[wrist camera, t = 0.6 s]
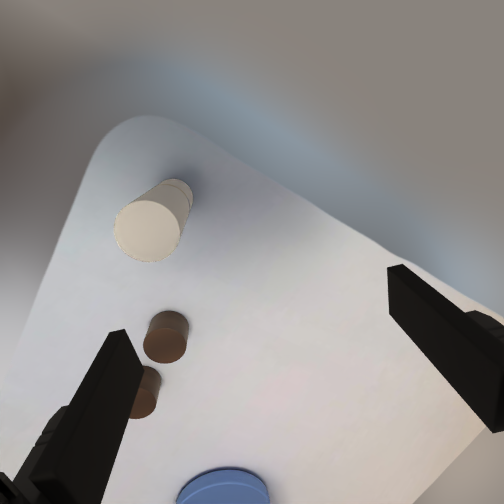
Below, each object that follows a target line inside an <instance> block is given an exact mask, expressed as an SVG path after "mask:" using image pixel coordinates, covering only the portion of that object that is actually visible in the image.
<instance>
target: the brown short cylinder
mask: <svg viewBox="0 0 504 504" xmlns="http://www.w3.org/2000/svg"><path fill="white" fill-rule="evenodd" d="M143 368H144V370H145V371H144V374H143V377H142V380H141V383H140V386H139V389H138V392H137V395H136V398H135V401H134V404H133V407H132V410H131V413H130V416H129V418H130V419H140V418H144V417H146V416H148V415H150V414H151V413H152V412H153V411H154V409H155V407H156V403H157V399H158V394H159V390H160V385H161V377H160V375H159V373H158V372H157V371H156V370H154V369H153V368H151V367H147V366H143Z"/></svg>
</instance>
